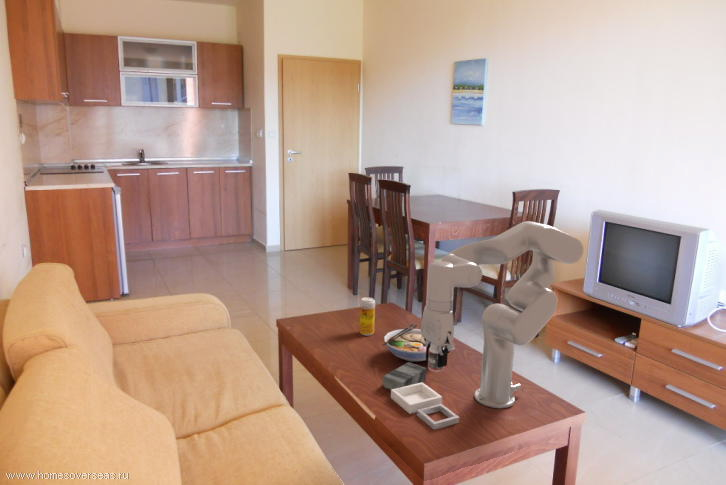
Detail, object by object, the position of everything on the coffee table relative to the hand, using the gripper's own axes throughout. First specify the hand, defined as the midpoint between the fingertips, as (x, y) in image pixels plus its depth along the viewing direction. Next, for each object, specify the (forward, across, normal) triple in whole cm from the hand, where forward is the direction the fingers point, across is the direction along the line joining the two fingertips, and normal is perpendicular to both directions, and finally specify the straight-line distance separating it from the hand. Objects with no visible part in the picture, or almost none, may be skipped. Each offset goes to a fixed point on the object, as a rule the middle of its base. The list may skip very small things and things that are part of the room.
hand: (436, 362), depth 163 cm
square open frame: (+17, +2, 0) cm, 17 cm away
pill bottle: (+2, 0, 0) cm, 2 cm away
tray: (+17, -9, 0) cm, 19 cm away
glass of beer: (+17, -66, +16) cm, 70 cm away
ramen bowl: (+18, -37, +19) cm, 45 cm away
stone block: (+18, -21, +4) cm, 28 cm away
